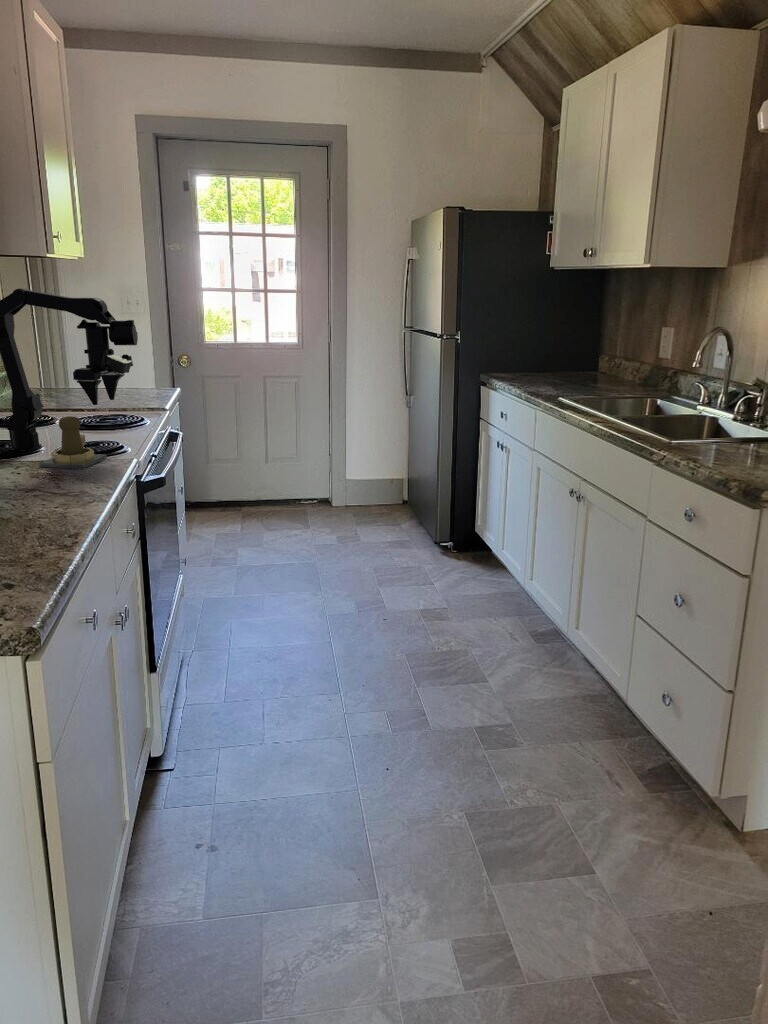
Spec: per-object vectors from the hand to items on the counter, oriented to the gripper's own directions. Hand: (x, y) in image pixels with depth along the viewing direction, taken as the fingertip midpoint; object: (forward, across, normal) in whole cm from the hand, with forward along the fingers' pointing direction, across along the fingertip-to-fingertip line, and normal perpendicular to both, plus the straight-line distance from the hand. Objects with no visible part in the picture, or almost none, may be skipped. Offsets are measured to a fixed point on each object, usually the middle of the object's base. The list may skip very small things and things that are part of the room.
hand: (103, 402), depth 213 cm
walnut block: (+13, -4, +8) cm, 16 cm away
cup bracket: (+13, -18, 0) cm, 22 cm away
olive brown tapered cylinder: (+12, -18, 0) cm, 22 cm away
